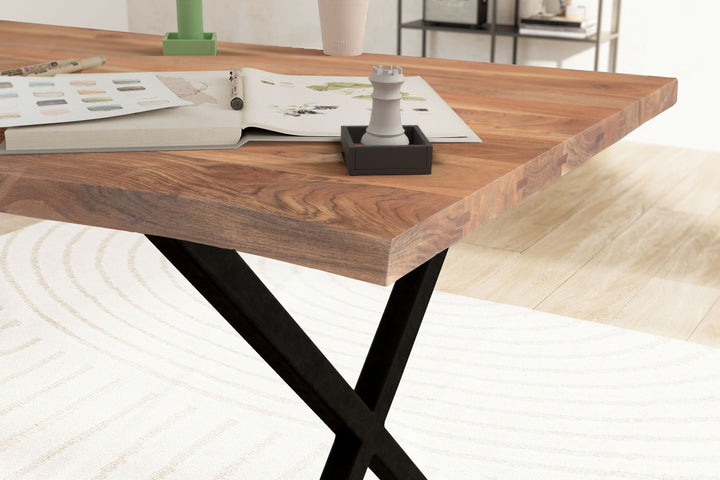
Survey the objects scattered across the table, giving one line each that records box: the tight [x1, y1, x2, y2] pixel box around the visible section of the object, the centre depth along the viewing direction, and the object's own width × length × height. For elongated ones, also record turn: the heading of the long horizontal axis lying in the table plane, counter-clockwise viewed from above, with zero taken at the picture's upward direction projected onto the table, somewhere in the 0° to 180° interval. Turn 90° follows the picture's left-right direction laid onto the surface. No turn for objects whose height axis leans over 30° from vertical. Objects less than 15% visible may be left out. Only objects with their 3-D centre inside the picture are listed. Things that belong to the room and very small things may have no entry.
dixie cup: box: [317, 0, 370, 57], centre depth 128 cm, size 8×8×10 cm
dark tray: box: [340, 124, 434, 176], centre depth 79 cm, size 7×7×2 cm
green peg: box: [175, 0, 204, 40], centre depth 125 cm, size 4×4×8 cm
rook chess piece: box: [360, 64, 410, 146], centre depth 78 cm, size 4×4×8 cm
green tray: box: [161, 31, 218, 57], centre depth 127 cm, size 7×7×2 cm
